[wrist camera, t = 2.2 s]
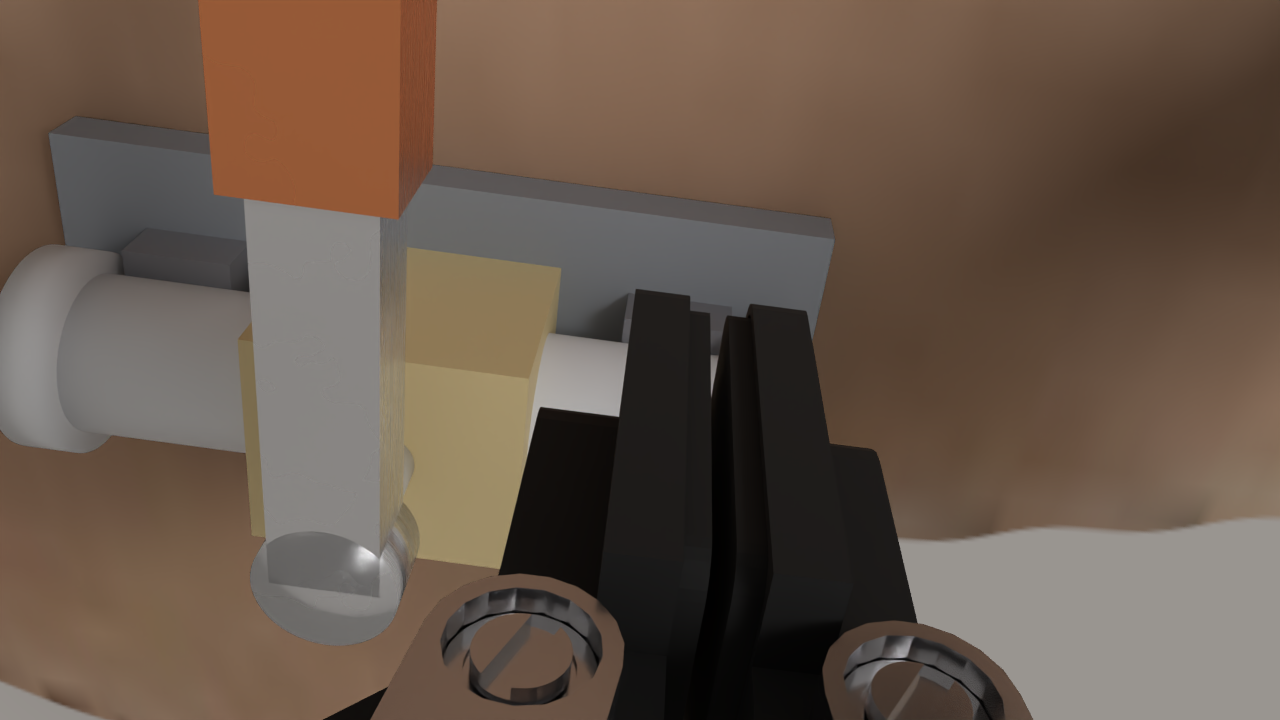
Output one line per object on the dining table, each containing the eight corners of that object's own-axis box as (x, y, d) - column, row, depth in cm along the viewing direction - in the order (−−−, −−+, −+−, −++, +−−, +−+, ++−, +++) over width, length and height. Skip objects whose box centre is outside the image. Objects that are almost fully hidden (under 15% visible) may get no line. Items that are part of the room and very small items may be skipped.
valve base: (830, 218, 32) (871, 406, 23) (769, 494, 37) (784, 734, 28) (75, 116, 32) (-169, 266, 23) (116, 406, 37) (-73, 619, 28)
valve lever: (443, -245, 18) (402, -240, 16) (421, 584, 27) (393, 663, 25) (245, -272, 18) (176, -271, 16) (289, 566, 27) (249, 644, 24)
